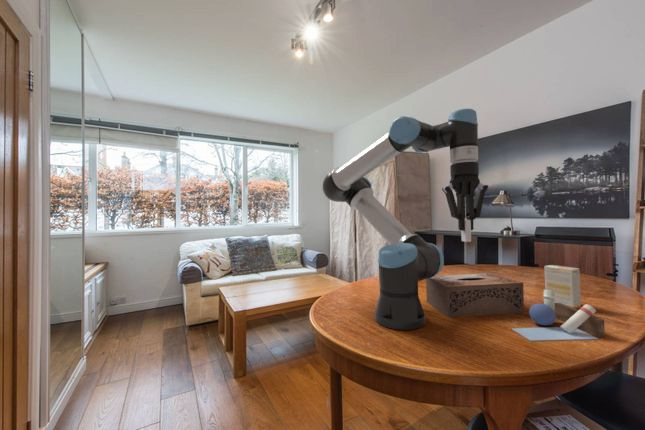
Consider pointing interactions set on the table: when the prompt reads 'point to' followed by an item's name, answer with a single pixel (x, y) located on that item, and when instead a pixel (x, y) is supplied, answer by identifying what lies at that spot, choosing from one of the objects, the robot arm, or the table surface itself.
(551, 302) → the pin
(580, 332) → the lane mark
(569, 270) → the supplement box
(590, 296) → the table surface
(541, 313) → the ball
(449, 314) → the tissue box cover
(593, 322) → the rail
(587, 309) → the pin
